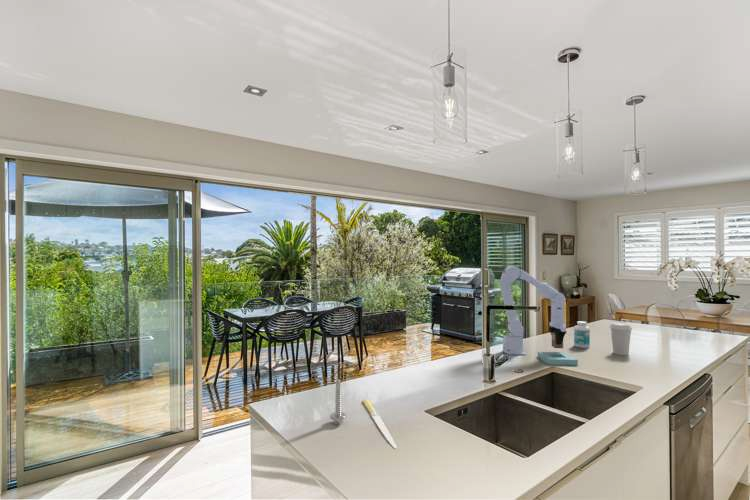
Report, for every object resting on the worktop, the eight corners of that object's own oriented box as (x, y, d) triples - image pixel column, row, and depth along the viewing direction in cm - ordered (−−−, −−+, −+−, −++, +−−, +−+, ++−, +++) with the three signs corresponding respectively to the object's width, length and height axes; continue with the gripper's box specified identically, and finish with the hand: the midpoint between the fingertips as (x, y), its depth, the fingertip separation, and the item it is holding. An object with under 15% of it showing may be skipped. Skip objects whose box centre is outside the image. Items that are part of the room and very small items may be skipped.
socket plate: (548, 364, 172) (548, 359, 172) (537, 356, 185) (537, 351, 185) (577, 365, 172) (577, 359, 172) (564, 357, 185) (564, 352, 185)
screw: (326, 423, 113) (338, 417, 117) (338, 428, 110) (349, 422, 114) (326, 379, 113) (338, 375, 117) (338, 383, 110) (349, 379, 114)
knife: (407, 451, 99) (390, 451, 98) (374, 402, 131) (361, 401, 130) (408, 446, 99) (391, 445, 98) (374, 398, 131) (361, 397, 130)
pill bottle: (571, 345, 207) (571, 321, 207) (580, 344, 210) (580, 320, 211) (583, 349, 201) (583, 323, 201) (592, 347, 204) (592, 322, 204)
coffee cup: (613, 355, 189) (613, 325, 189) (607, 350, 198) (607, 321, 198) (635, 356, 186) (635, 326, 186) (628, 351, 195) (628, 322, 195)
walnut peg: (554, 348, 188) (555, 334, 188) (551, 346, 192) (551, 332, 192) (563, 348, 188) (563, 334, 188) (559, 346, 192) (559, 332, 192)
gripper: (572, 318, 182) (572, 346, 182) (559, 313, 197) (559, 339, 197) (557, 318, 183) (557, 346, 183) (545, 313, 197) (545, 339, 197)
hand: (557, 343), depth 190 cm, fingers closed on walnut peg, 4 cm apart
